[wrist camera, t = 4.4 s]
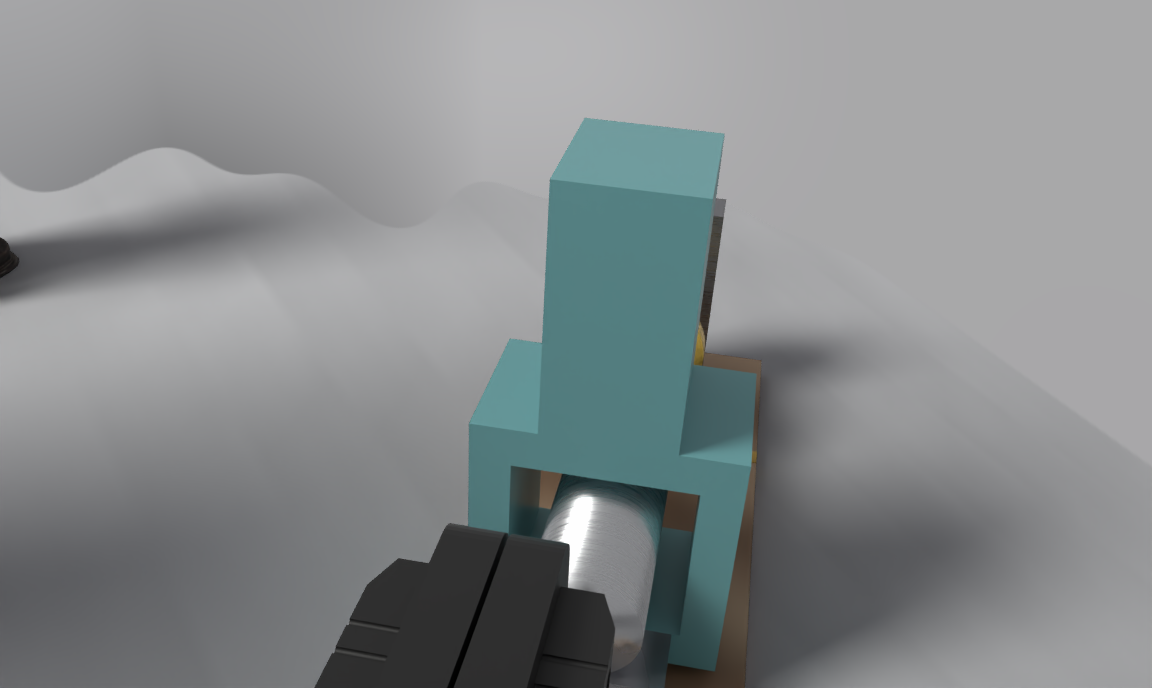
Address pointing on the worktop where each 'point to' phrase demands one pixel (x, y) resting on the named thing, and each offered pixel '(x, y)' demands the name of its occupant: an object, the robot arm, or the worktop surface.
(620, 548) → the pipe
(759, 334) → the worktop surface
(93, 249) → the worktop surface
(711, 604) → the sleeve
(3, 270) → the figurine
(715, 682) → the board
